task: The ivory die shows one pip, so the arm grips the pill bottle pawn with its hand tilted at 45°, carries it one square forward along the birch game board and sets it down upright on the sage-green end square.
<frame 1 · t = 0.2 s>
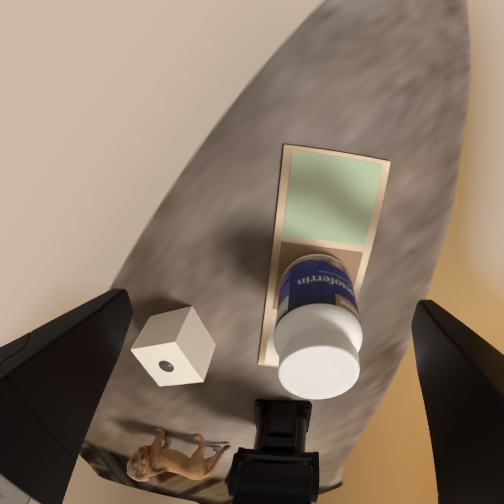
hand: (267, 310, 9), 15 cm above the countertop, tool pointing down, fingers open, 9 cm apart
game board: (315, 281, 26), on the countertop
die: (182, 330, 31), on the countertop
pill bottle: (315, 281, 26), resting on game board
lion figurine: (182, 437, 42), on the countertop
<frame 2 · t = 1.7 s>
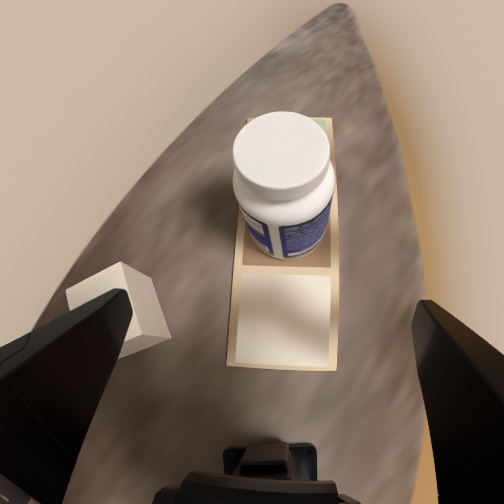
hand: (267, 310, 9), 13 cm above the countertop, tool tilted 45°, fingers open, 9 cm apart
game board: (287, 225, 24), on the countertop
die: (134, 319, 24), on the countertop
pill bottle: (287, 225, 24), resting on game board
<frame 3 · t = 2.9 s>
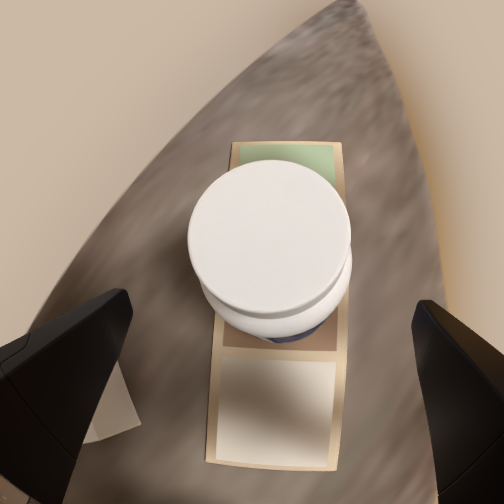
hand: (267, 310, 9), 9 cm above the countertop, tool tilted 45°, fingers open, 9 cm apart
game board: (282, 294, 18), on the countertop
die: (99, 397, 18), on the countertop
pill bottle: (282, 294, 18), resting on game board
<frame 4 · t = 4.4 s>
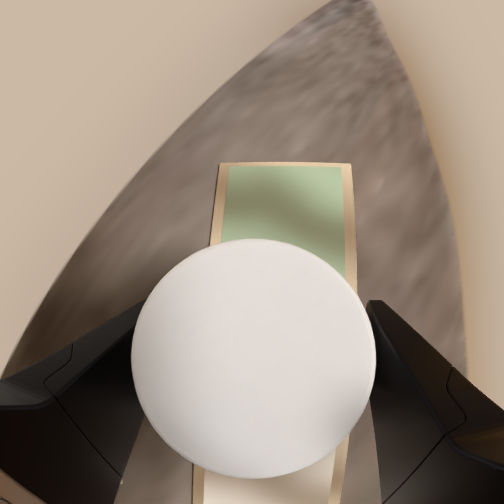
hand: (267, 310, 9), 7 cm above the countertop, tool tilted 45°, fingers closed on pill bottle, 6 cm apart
game board: (277, 354, 15), on the countertop
pill bottle: (277, 354, 15), resting on game board, touching gripper
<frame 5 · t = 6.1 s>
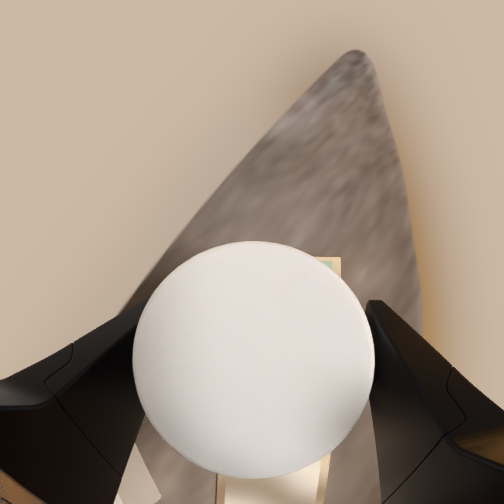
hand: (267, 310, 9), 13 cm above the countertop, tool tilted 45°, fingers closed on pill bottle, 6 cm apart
game board: (278, 407, 20), on the countertop
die: (123, 474, 19), on the countertop
pill bottle: (277, 354, 15), point 6 cm above the countertop, touching gripper
when the fingers open (8 cm above the countertop, at t = 7.9 s): pill bottle drops 1 cm, resting on game board.
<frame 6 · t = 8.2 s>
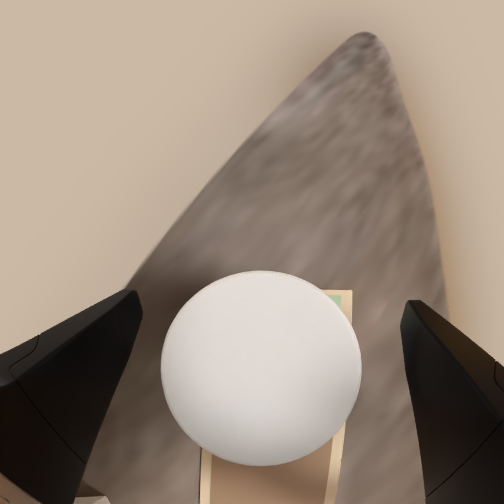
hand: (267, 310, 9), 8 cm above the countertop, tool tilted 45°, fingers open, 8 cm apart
game board: (269, 473, 14), on the countertop
pill bottle: (278, 358, 16), resting on game board
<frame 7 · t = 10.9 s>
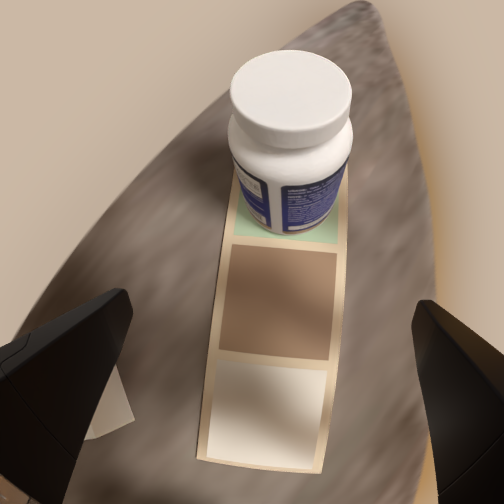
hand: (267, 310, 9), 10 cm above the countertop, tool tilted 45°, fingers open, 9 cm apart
game board: (279, 301, 19), on the countertop
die: (94, 391, 18), on the countertop
pill bottle: (289, 196, 20), resting on game board
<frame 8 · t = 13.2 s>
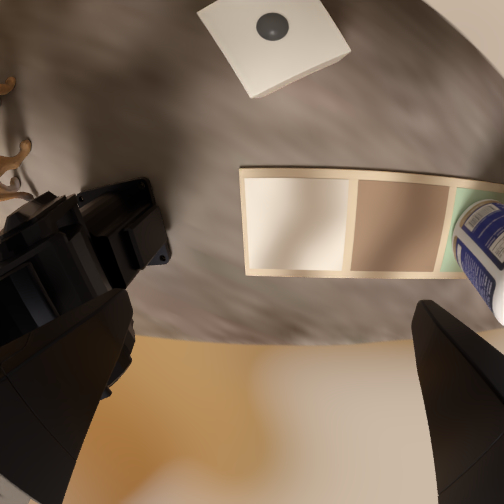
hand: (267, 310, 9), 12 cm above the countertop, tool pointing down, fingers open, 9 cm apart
game board: (399, 228, 20), on the countertop
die: (279, 43, 16), on the countertop
pill bottle: (480, 232, 19), resting on game board
lion figurine: (8, 122, 20), on the countertop
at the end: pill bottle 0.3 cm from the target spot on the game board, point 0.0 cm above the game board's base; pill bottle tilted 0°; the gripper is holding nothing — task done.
